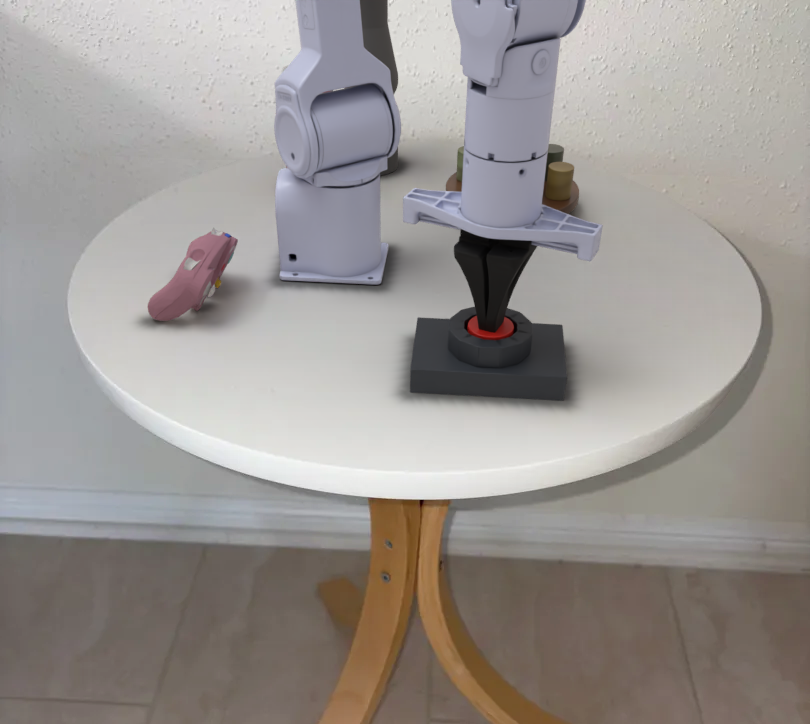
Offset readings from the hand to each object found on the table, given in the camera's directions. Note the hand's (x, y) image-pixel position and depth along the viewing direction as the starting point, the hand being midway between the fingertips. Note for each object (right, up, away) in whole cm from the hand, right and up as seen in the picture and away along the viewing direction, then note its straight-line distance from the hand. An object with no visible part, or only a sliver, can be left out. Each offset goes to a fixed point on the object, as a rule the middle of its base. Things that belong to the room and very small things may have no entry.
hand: (491, 325), depth 71 cm
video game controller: (-25, +5, +11) cm, 28 cm away
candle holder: (-11, +26, +34) cm, 44 cm away
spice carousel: (+5, +20, +25) cm, 32 cm away
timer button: (0, -1, +1) cm, 2 cm away
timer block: (0, -3, +3) cm, 4 cm away
